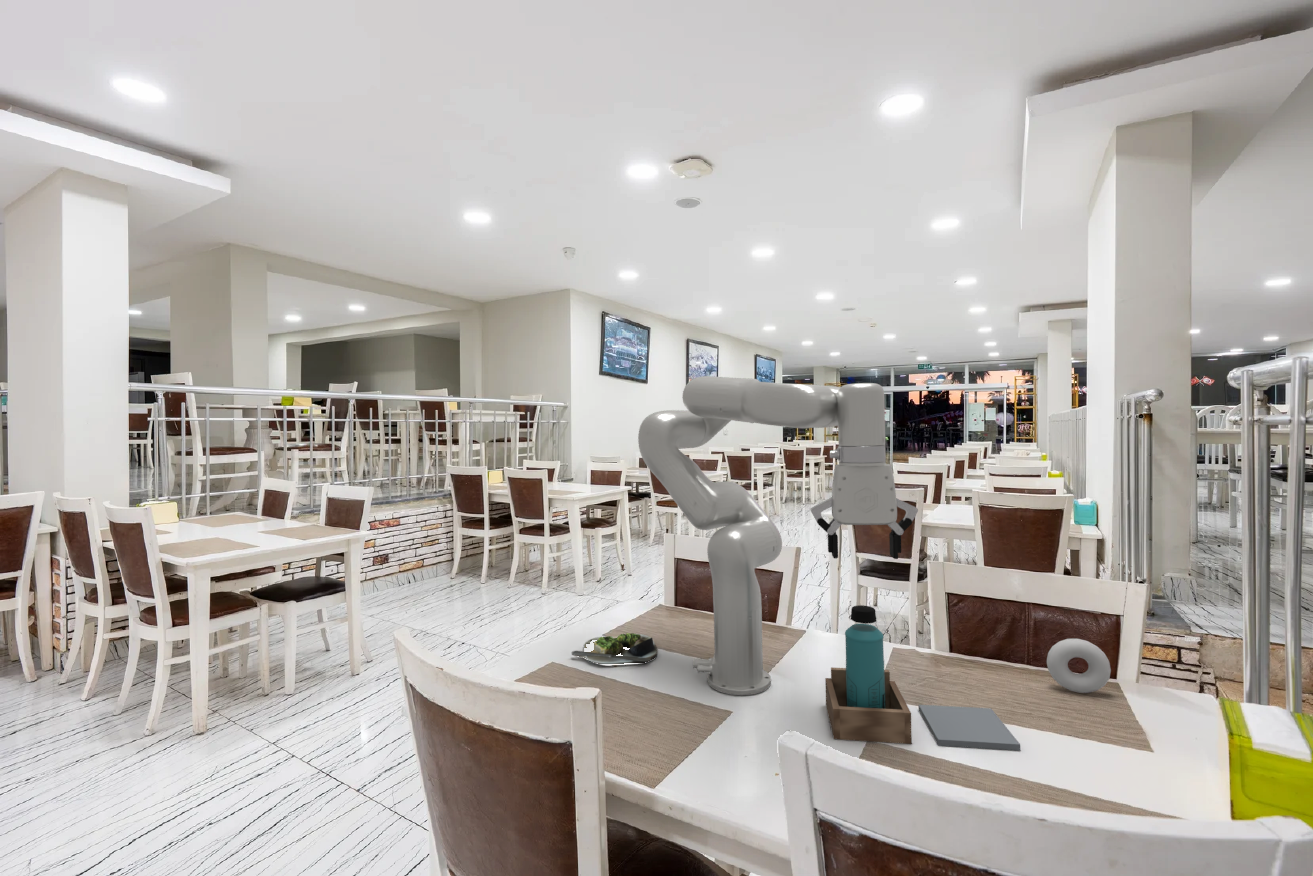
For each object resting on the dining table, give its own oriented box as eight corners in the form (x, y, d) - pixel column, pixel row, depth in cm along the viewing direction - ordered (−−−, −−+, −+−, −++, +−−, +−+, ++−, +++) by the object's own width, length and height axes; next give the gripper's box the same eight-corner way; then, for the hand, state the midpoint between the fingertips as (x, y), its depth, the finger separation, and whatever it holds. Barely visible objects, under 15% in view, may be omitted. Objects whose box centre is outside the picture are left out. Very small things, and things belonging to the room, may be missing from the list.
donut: (1108, 692, 113) (1108, 639, 112) (1113, 700, 109) (1113, 645, 109) (1045, 684, 117) (1044, 632, 117) (1048, 691, 114) (1047, 638, 113)
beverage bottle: (889, 734, 99) (887, 614, 99) (847, 731, 101) (845, 612, 100) (883, 715, 106) (881, 602, 105) (843, 713, 107) (841, 601, 107)
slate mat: (938, 745, 96) (938, 739, 96) (918, 710, 108) (918, 704, 107) (1020, 750, 94) (1020, 744, 94) (991, 714, 105) (991, 708, 105)
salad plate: (572, 675, 127) (571, 654, 127) (570, 645, 144) (570, 626, 144) (663, 667, 130) (662, 646, 130) (650, 639, 148) (650, 620, 147)
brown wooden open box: (833, 739, 98) (833, 696, 98) (825, 705, 110) (825, 667, 110) (911, 744, 96) (910, 700, 96) (894, 708, 108) (894, 670, 108)
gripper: (811, 458, 100) (813, 561, 100) (921, 456, 97) (924, 562, 97) (807, 456, 107) (810, 552, 108) (910, 454, 104) (912, 552, 105)
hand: (864, 557), depth 103 cm, fingers open, 9 cm apart
